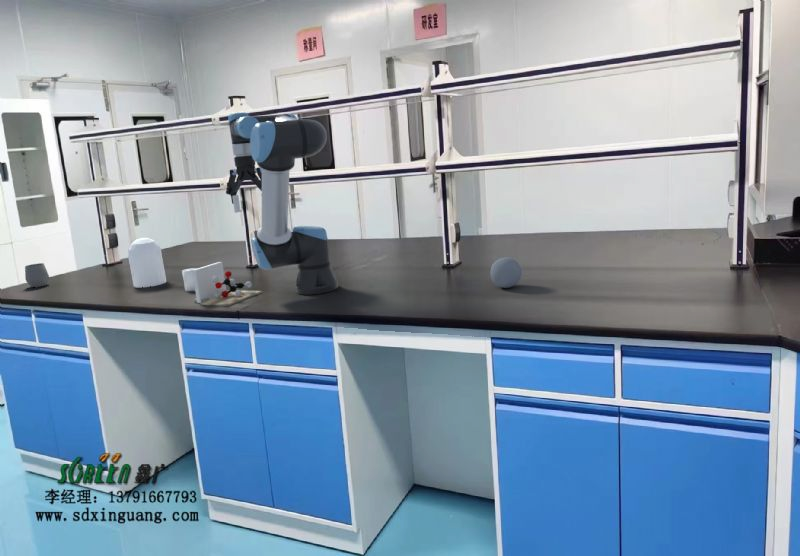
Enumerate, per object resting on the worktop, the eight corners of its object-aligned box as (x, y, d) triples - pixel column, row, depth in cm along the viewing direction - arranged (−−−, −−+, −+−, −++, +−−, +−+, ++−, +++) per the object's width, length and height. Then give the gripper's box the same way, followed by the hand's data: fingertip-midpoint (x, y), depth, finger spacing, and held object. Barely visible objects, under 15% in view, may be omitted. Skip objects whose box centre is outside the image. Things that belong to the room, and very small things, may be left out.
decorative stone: (488, 291, 199) (486, 260, 197) (495, 283, 208) (493, 254, 206) (519, 291, 195) (517, 260, 193) (524, 283, 204) (523, 254, 202)
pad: (261, 292, 227) (261, 290, 227) (229, 305, 211) (228, 304, 211) (234, 291, 233) (233, 290, 232) (200, 304, 217) (200, 302, 217)
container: (155, 279, 273) (147, 234, 269) (173, 281, 265) (165, 235, 261) (127, 286, 262) (118, 240, 258) (145, 288, 255) (136, 241, 250)
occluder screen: (230, 293, 231) (225, 261, 228) (204, 303, 219) (198, 270, 216) (220, 292, 233) (215, 261, 230) (193, 302, 221) (188, 270, 218)
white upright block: (204, 287, 245) (201, 268, 244) (193, 291, 240) (190, 271, 239) (192, 287, 248) (189, 268, 246) (181, 291, 243) (178, 271, 241)
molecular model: (235, 302, 229) (239, 276, 231) (251, 303, 225) (254, 276, 227) (202, 295, 216) (206, 267, 218) (218, 295, 212) (222, 267, 214)
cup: (42, 283, 289) (37, 262, 287) (55, 283, 285) (50, 262, 282) (22, 288, 280) (18, 267, 278) (35, 289, 276) (30, 267, 274)
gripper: (277, 152, 229) (284, 209, 234) (224, 157, 240) (232, 211, 244) (265, 153, 223) (273, 211, 227) (211, 158, 233) (219, 214, 238)
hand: (252, 211), depth 236 cm, fingers open, 13 cm apart
